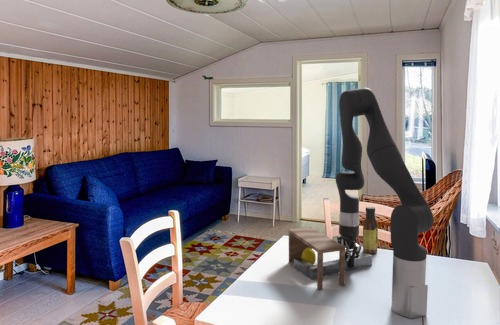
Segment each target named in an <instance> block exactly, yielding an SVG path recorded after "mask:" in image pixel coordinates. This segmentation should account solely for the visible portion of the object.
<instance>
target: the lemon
mask: <svg viewBox="0 0 500 325" xmlns="http://www.w3.org/2000/svg"><path fill="white" fill-rule="evenodd" d="M302 259H304V260H306V261H308V262H309V263H311V264H313V265H315V263H316V261H317V257H316V251H315V250H314V249H310V248H307V249H305V250H304V251H303V253H302Z"/></svg>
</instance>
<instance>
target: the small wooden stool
mask: <svg viewBox="0 0 500 325" xmlns="http://www.w3.org/2000/svg"><path fill="white" fill-rule="evenodd" d="M307 248H310V249H312V250H313V251H314V252H315V253H317V257H316V262H317V263H316V264H317V278H316V279H317V280H316V289H317V290H318V291H320V290H321V291H322V290H324V287H323V286H324V277H323V263H324V253H325V254H326V253H327V254H328V253H334V252H339V253H338V254H339V257H338V259H339V273H338V285H339V286H340V287H345V279H346V278H345V276H346V274H345V272H346V271H345V246H343V245H341V244H339V243H338V241H336V240H334V239H332V238H331V237H329V236H327V235H326V234H324V233H323V232H320V231H319V230H317V229H315V228H314V227H312V226H306V227H297V228H289V229H288V263H289V264H294V258H299V257H301V258H302V253H303V251H304V250H305V249H307Z"/></svg>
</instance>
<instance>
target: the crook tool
mask: <svg viewBox="0 0 500 325" xmlns="http://www.w3.org/2000/svg"><path fill="white" fill-rule="evenodd" d="M372 265H373V255H371V254H370V253H366V252H364V253H362V254H359V257H358V258H355V259H354V267H353V268H349V267H348V257H347V258H345V272H350V271H353V270H357V269H361V268H366V267H370V266H372ZM293 269H294V270H296V271H297V272H299V273H301V274H302V275H303V276H305V277H307V278H308V279H310V280H315V279H317V263H316V264H315V263H314V264H311V263H309V262H308V261H306V260H304V259H302V258H301V257H299V258H294V263H293ZM337 274H339V258H337V259H335V260H330V261H325V262H324V261H323V278H324V277H328V276H332V275H337Z"/></svg>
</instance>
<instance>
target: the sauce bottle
mask: <svg viewBox="0 0 500 325" xmlns="http://www.w3.org/2000/svg"><path fill="white" fill-rule="evenodd" d="M362 224H363V225H362V250H363V252H364V253H367V254H370V255H371V254H376V253H377V252H378V249H379V248H378V247H379V246H378V244H379V243H378V239H379V238H378V236H379V230H378V229H379V225H378V221H377V219H376V207H374V206H366V207H365V219H364V220H363V222H362Z"/></svg>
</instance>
